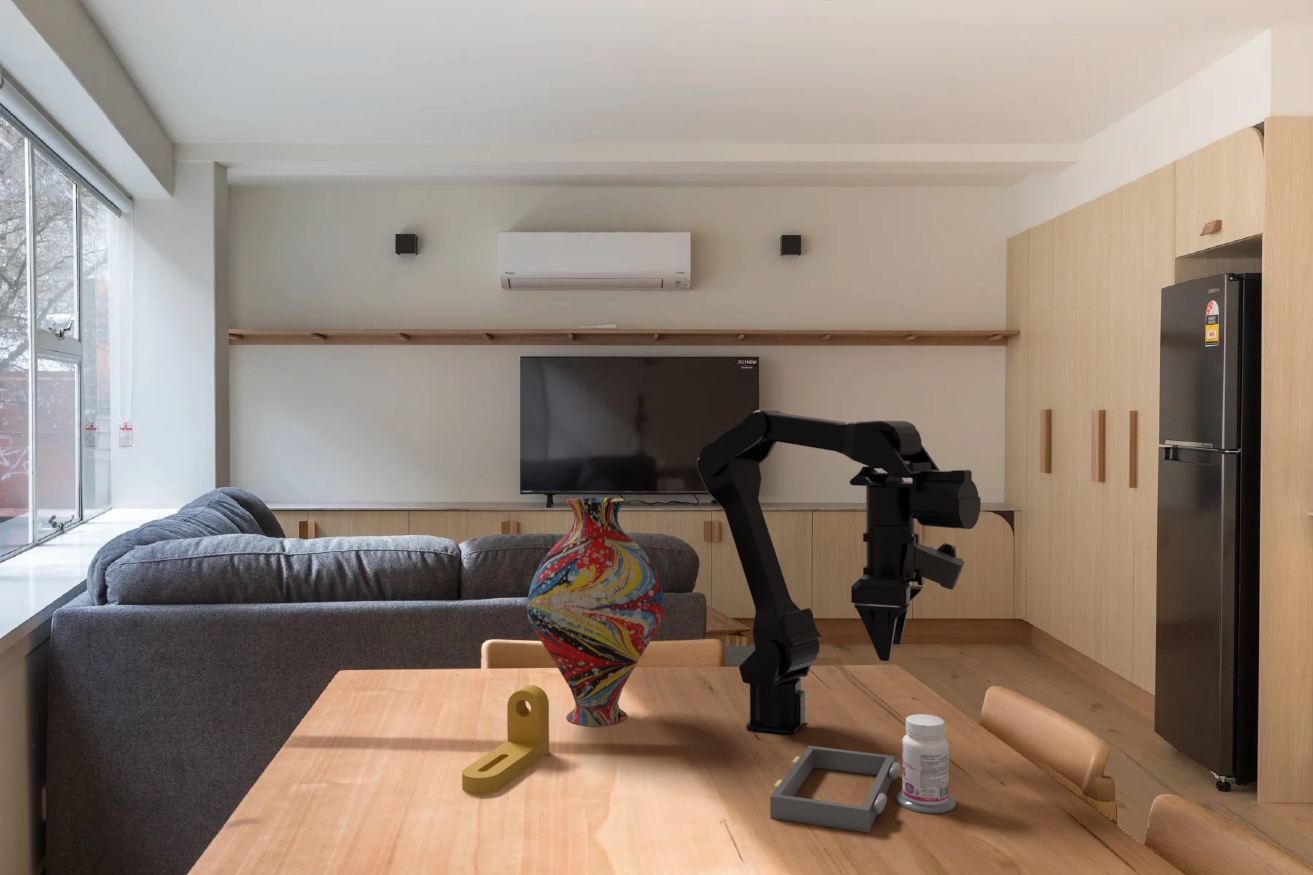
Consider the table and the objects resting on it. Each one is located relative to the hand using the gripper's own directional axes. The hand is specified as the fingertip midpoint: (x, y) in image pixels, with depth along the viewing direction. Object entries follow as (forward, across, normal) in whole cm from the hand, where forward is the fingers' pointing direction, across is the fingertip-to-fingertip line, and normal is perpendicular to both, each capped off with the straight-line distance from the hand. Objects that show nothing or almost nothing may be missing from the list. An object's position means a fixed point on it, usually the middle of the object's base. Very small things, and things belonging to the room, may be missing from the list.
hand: (890, 652), depth 119 cm
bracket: (+13, -22, +41) cm, 48 cm away
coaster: (+12, -14, -6) cm, 20 cm away
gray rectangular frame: (+12, -16, +4) cm, 20 cm away
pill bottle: (+12, -14, -6) cm, 19 cm away
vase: (+13, +1, +40) cm, 42 cm away
